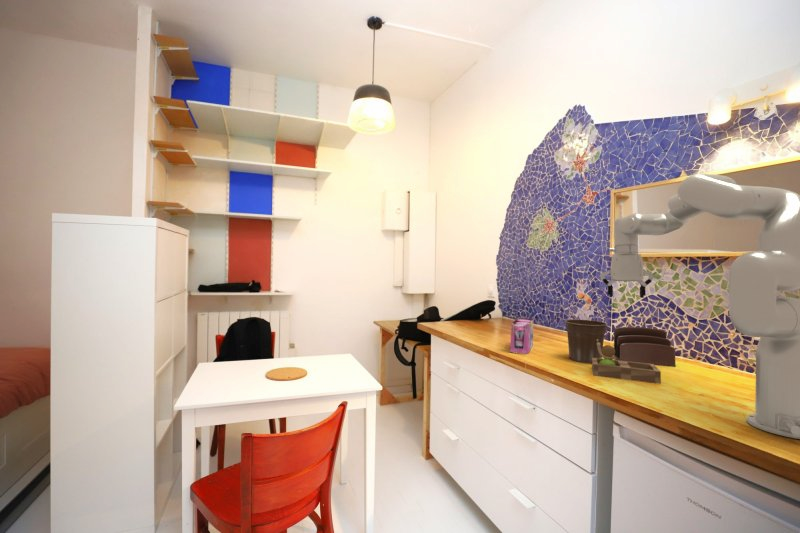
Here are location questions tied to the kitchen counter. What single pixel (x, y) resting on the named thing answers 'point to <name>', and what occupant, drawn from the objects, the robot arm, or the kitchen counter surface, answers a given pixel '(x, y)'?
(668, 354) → the letter holder
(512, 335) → the gum box
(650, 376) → the brown wooden flat frame
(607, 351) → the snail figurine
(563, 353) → the kitchen counter surface
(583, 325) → the plant pot
